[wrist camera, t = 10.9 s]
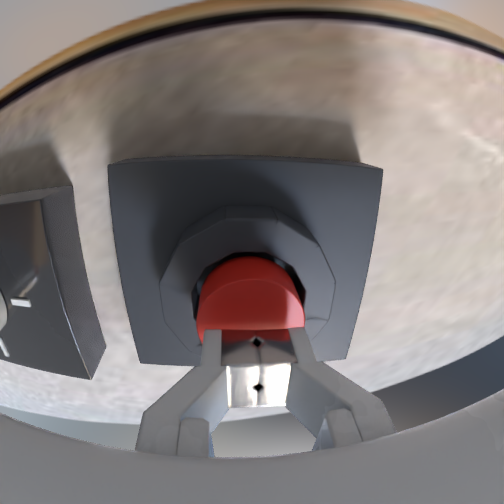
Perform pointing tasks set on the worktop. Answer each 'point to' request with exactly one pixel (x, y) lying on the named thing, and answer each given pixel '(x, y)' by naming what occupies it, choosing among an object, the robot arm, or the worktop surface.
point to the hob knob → (2, 312)
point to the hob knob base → (46, 285)
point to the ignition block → (240, 240)
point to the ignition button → (248, 297)
